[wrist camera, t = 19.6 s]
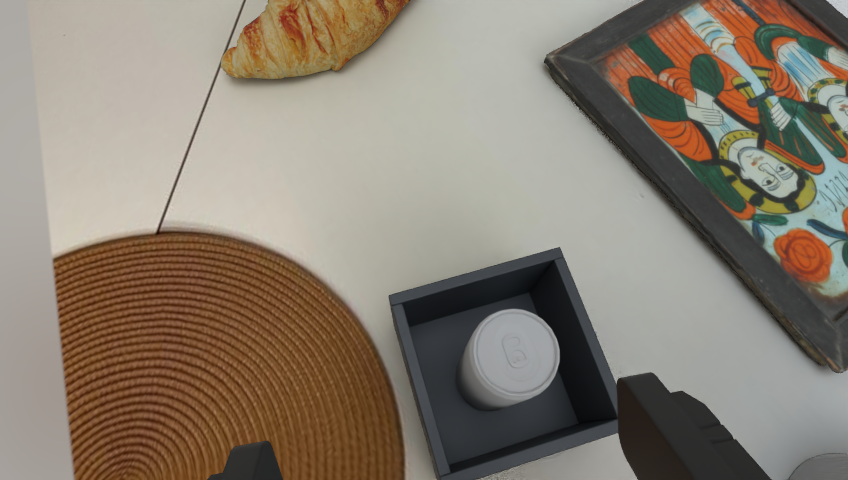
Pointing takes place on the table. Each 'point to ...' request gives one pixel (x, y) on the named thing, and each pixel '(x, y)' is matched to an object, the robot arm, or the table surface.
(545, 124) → the table surface
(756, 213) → the painting
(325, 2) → the croissant
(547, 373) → the beverage can
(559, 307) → the bin
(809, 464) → the cup
